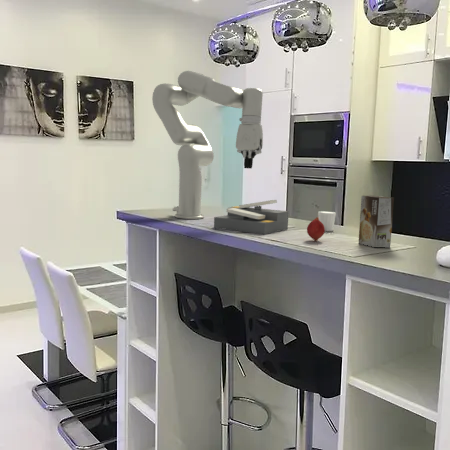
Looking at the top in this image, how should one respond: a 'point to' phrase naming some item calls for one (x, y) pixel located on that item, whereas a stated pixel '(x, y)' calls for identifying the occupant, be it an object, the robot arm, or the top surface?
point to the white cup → (327, 219)
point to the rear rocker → (258, 204)
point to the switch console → (254, 221)
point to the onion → (315, 229)
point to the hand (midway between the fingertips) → (247, 168)
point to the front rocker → (245, 213)
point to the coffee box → (376, 221)
